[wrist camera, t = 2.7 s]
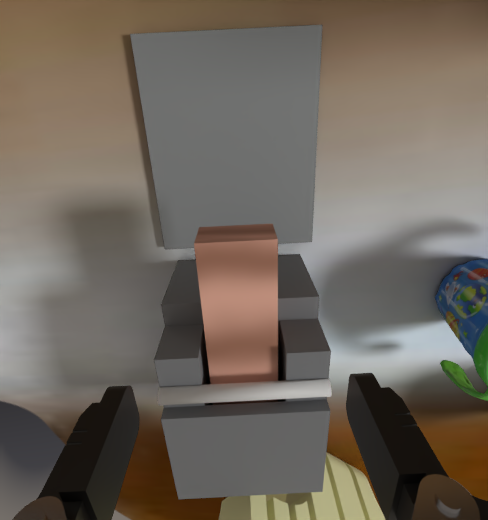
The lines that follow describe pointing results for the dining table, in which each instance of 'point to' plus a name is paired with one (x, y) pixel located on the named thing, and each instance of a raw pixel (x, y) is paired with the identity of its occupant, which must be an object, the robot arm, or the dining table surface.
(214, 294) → the copper bar
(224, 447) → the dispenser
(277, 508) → the slatted curved stool
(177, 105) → the mat
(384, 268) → the dining table surface
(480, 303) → the snack cup
